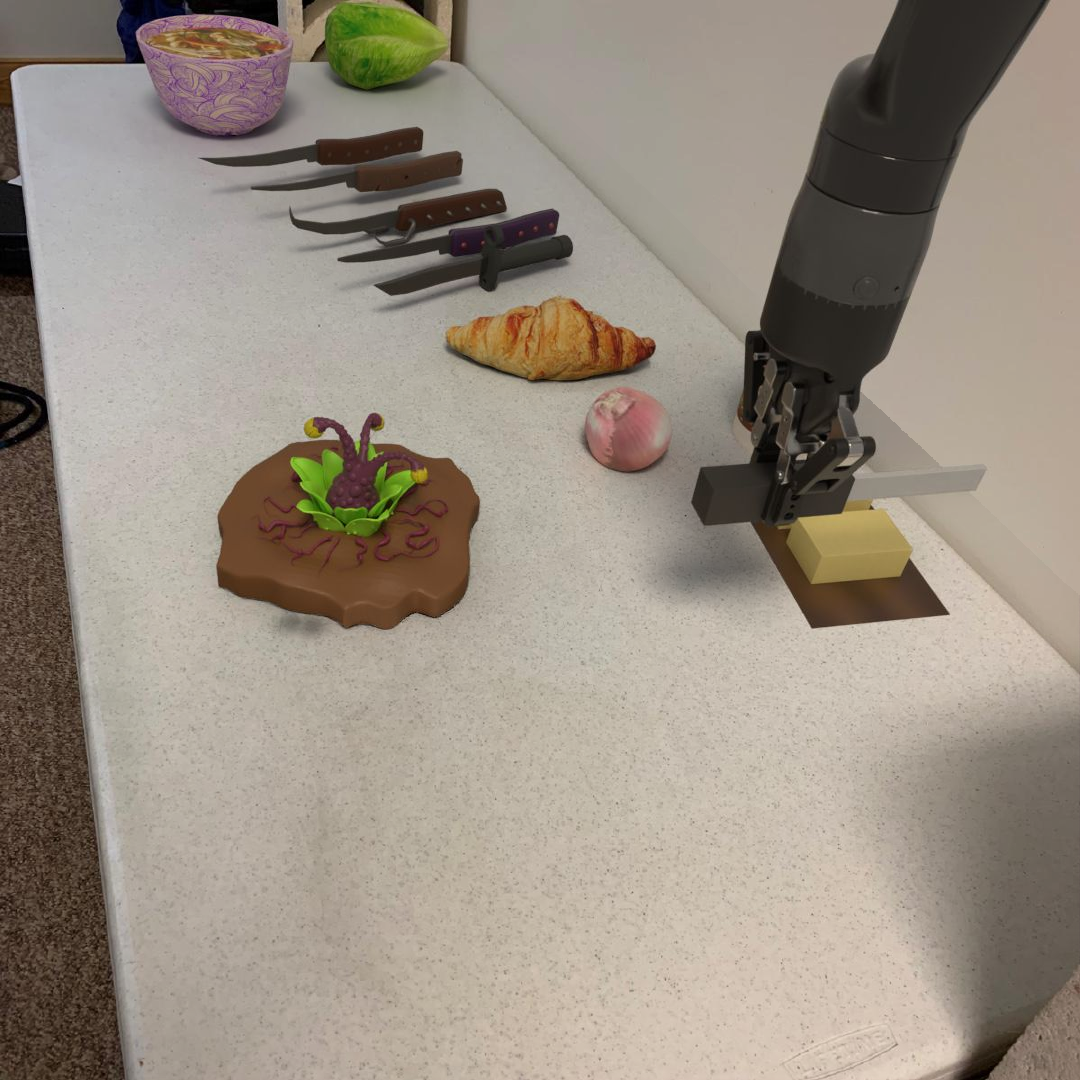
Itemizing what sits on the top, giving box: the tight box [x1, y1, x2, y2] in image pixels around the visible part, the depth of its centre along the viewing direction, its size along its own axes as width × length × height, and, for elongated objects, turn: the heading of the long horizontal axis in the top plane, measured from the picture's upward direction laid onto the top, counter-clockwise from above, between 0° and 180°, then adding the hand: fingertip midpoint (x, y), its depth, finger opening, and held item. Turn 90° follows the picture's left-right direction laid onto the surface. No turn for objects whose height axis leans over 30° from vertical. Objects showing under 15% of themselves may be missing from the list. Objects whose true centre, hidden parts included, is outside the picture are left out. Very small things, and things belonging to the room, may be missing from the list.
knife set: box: [198, 126, 574, 297], centre depth 117 cm, size 35×33×8 cm
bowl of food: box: [135, 14, 295, 136], centre depth 135 cm, size 20×20×12 cm
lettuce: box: [324, 1, 450, 91], centre depth 155 cm, size 14×20×12 cm
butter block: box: [786, 508, 914, 584], centre depth 80 cm, size 8×5×3 cm, turn 103°
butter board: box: [750, 504, 951, 629], centre depth 83 cm, size 12×18×1 cm, turn 13°
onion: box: [584, 386, 674, 472], centre depth 88 cm, size 8×8×7 cm
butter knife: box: [690, 458, 988, 527], centre depth 66 cm, size 21×2×3 cm, turn 104°
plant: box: [215, 412, 481, 630], centre depth 75 cm, size 20×20×11 cm
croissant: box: [444, 295, 657, 381], centre depth 99 cm, size 21×10×8 cm, turn 93°
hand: (767, 506), depth 66 cm, fingers closed on butter knife, 2 cm apart
